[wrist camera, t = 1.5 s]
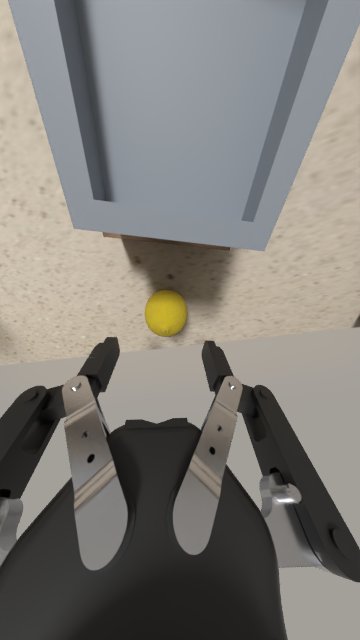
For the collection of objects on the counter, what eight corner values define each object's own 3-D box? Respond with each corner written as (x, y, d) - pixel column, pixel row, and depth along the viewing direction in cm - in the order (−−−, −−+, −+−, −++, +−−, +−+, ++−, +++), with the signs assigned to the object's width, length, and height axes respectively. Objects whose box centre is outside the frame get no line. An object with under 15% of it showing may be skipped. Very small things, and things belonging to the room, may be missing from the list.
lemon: (167, 319, 23) (165, 355, 17) (142, 297, 21) (128, 330, 14) (191, 299, 21) (200, 331, 15) (167, 273, 19) (165, 298, 12)
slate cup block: (281, 26, 7) (605, -562, 2) (225, 241, 13) (264, 251, 7) (83, -37, 6) (-518, -1824, 1) (117, 227, 12) (73, 228, 6)
